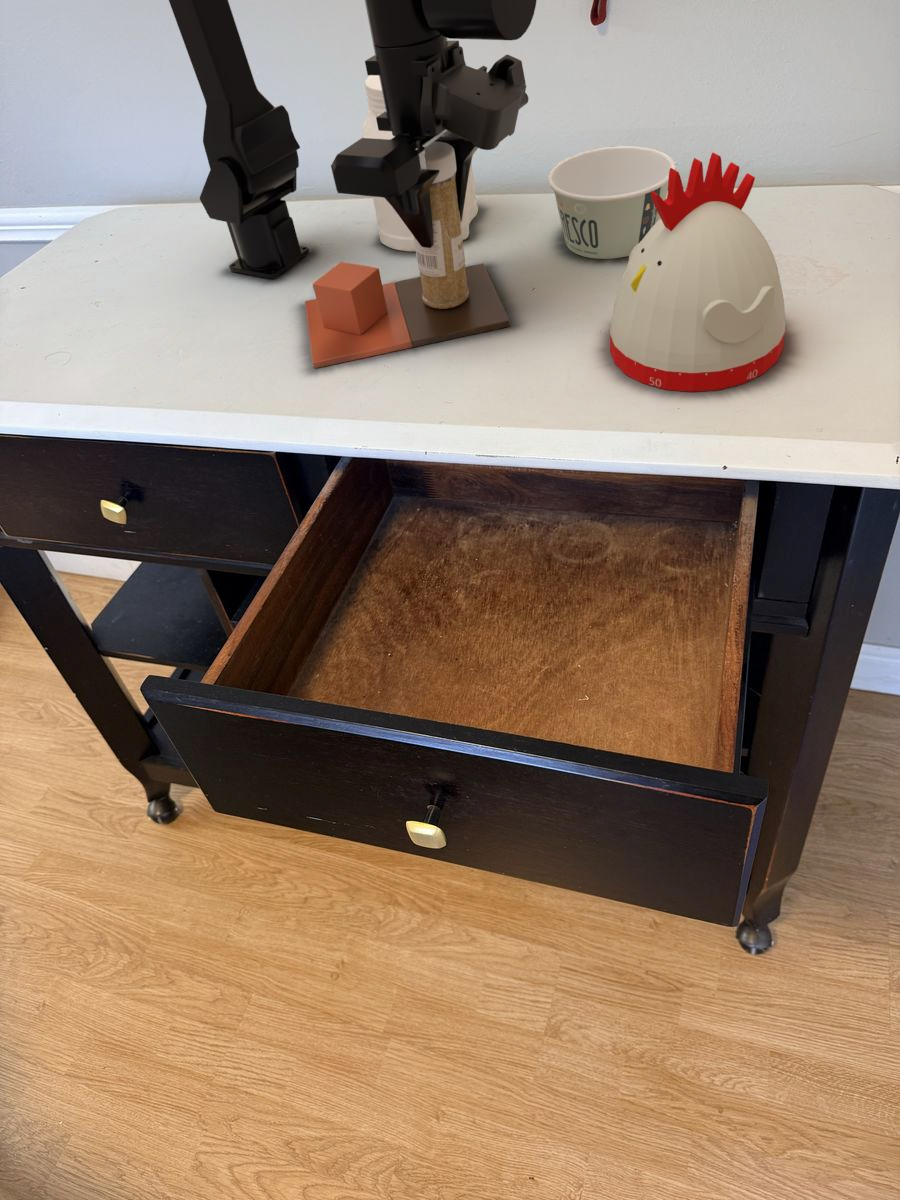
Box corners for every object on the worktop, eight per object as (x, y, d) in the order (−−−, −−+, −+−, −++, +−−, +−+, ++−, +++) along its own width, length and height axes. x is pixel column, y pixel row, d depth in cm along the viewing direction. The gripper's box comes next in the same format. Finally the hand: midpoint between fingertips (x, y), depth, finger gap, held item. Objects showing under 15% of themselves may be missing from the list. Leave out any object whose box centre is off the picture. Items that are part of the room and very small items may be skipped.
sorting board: (314, 368, 81) (312, 362, 80) (306, 306, 89) (304, 300, 89) (510, 326, 81) (509, 320, 81) (484, 268, 90) (483, 262, 89)
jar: (399, 206, 103) (373, 60, 92) (482, 202, 101) (465, 51, 90) (374, 254, 95) (343, 100, 85) (463, 250, 93) (442, 91, 82)
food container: (696, 223, 90) (700, 155, 85) (628, 276, 85) (628, 206, 80) (596, 202, 96) (595, 138, 92) (527, 250, 91) (522, 184, 86)
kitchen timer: (582, 332, 79) (576, 153, 68) (721, 286, 81) (736, 106, 70) (663, 411, 69) (671, 217, 59) (818, 357, 71) (853, 161, 61)
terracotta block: (323, 327, 85) (312, 283, 81) (351, 304, 87) (340, 261, 84) (360, 335, 83) (350, 290, 79) (388, 312, 85) (379, 267, 82)
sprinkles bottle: (479, 298, 84) (464, 148, 75) (438, 316, 83) (418, 166, 73) (452, 281, 87) (435, 134, 77) (412, 298, 86) (390, 151, 76)
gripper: (430, 80, 61) (464, 297, 72) (558, -4, 71) (570, 197, 82) (304, 78, 66) (353, 280, 77) (440, 0, 76) (466, 188, 87)
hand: (441, 234), depth 80 cm, fingers closed on sprinkles bottle, 4 cm apart
